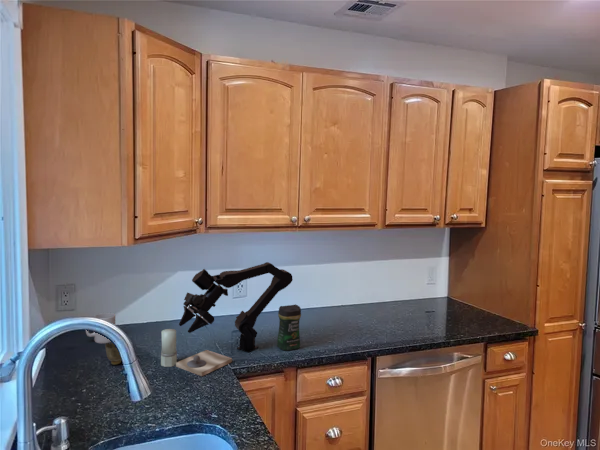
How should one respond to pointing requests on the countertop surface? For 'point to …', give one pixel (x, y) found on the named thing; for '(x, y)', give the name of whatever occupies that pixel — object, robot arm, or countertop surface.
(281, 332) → the coffee jar
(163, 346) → the light bulb
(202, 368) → the mounting board
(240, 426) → the countertop surface
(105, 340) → the mug
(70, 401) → the countertop surface
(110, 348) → the cup
